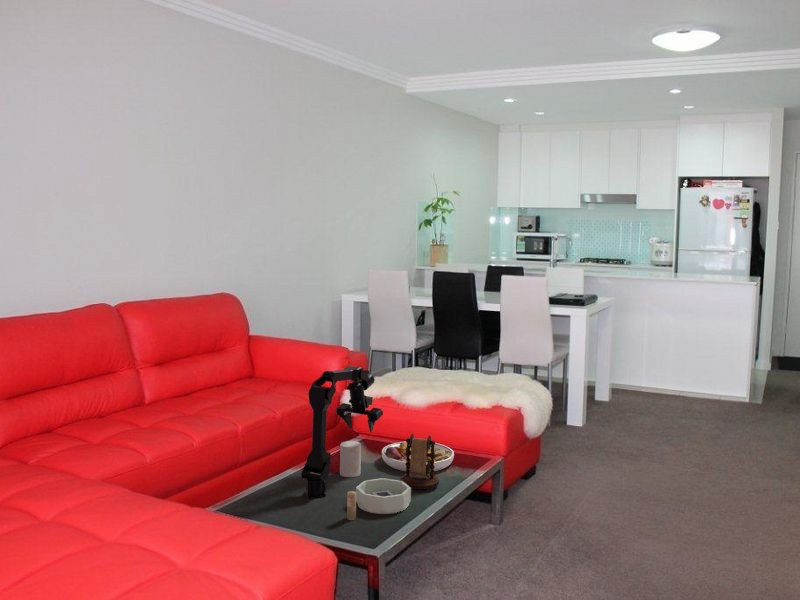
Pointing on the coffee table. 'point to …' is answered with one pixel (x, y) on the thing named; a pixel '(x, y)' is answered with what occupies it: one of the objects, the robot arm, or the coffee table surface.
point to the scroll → (420, 464)
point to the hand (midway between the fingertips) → (361, 430)
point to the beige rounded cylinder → (351, 505)
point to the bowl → (397, 456)
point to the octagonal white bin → (383, 496)
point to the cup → (350, 459)
